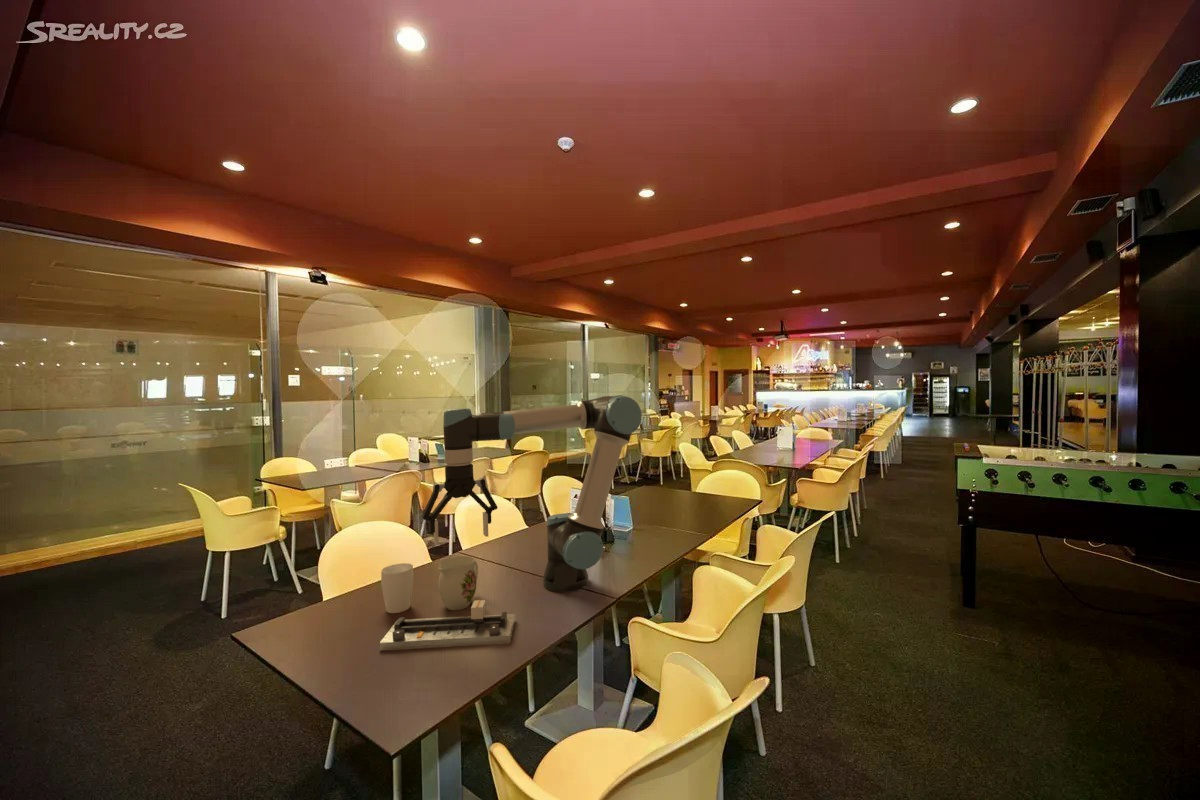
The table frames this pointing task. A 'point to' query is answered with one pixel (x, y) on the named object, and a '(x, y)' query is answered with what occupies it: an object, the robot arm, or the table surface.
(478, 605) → the fader
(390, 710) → the table surface
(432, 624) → the console
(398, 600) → the cup
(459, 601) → the pitcher
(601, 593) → the table surface
